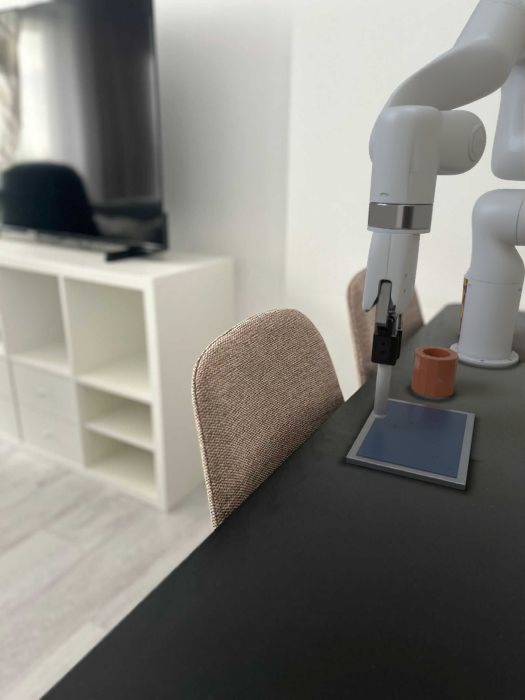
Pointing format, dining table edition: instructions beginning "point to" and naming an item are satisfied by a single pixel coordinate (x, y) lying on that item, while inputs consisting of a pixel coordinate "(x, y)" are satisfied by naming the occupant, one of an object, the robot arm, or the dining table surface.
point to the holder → (434, 371)
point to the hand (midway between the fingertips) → (385, 359)
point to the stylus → (382, 390)
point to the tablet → (417, 443)
